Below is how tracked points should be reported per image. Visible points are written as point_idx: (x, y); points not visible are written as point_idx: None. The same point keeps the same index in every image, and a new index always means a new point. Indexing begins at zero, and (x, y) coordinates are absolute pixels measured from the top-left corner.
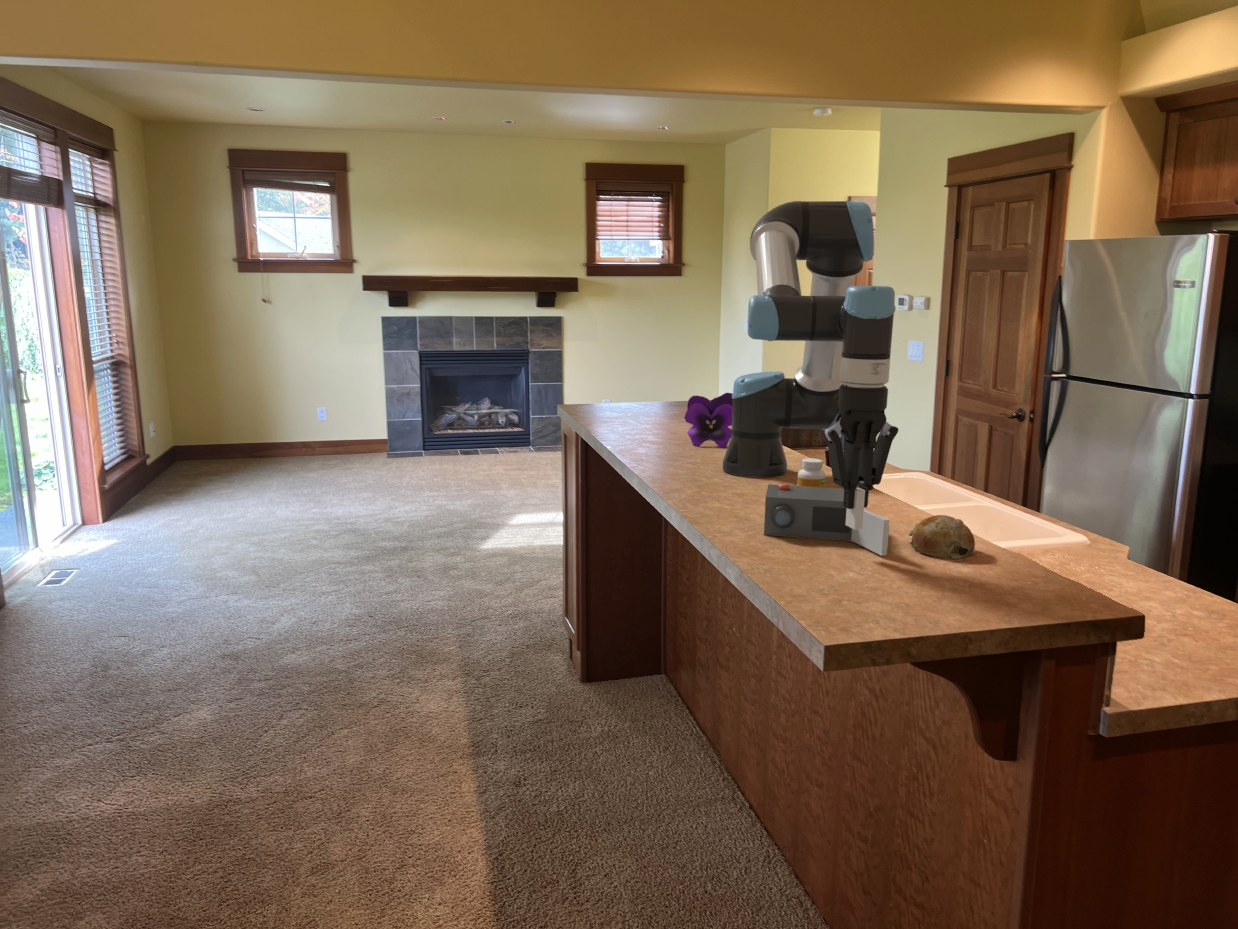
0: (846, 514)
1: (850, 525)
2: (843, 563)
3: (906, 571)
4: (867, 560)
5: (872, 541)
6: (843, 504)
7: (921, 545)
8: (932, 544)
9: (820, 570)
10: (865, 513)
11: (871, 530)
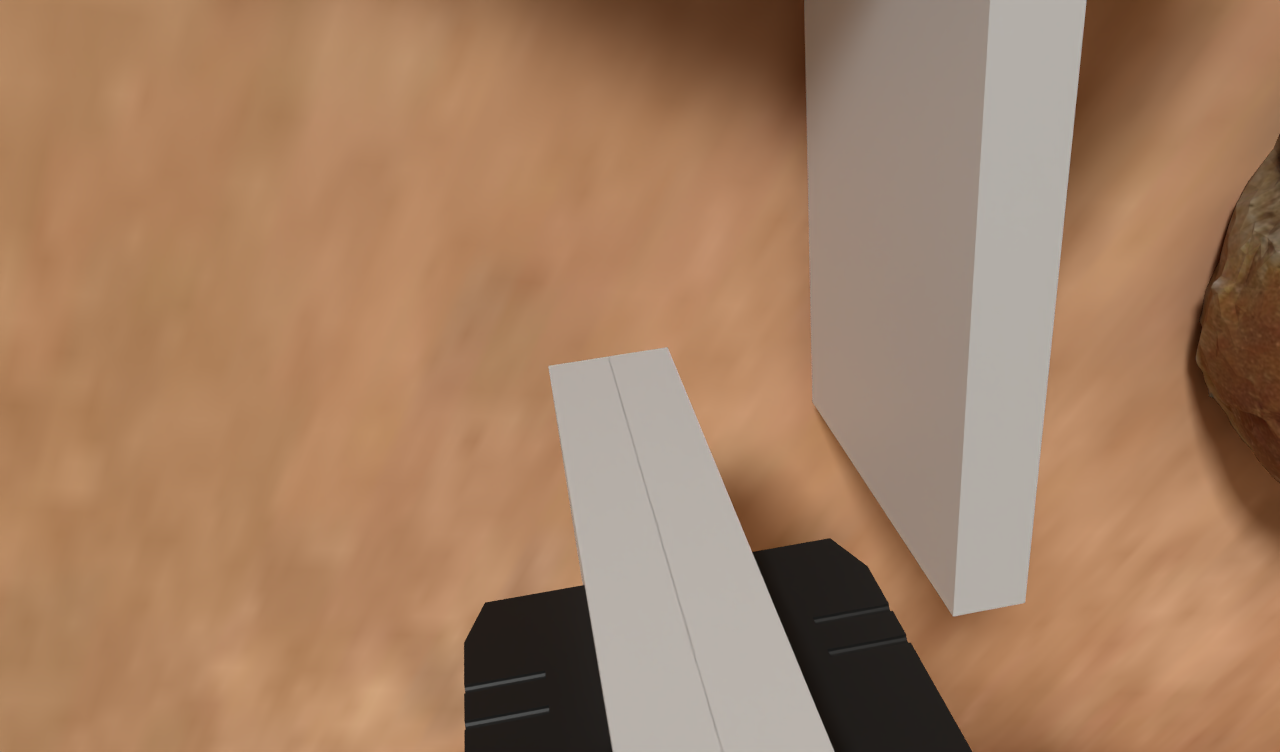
0: (564, 446)
1: (566, 480)
2: (408, 487)
3: None
4: None
5: (841, 296)
6: (470, 640)
7: (1229, 381)
8: (1275, 472)
9: (139, 627)
10: (968, 227)
11: (884, 311)
